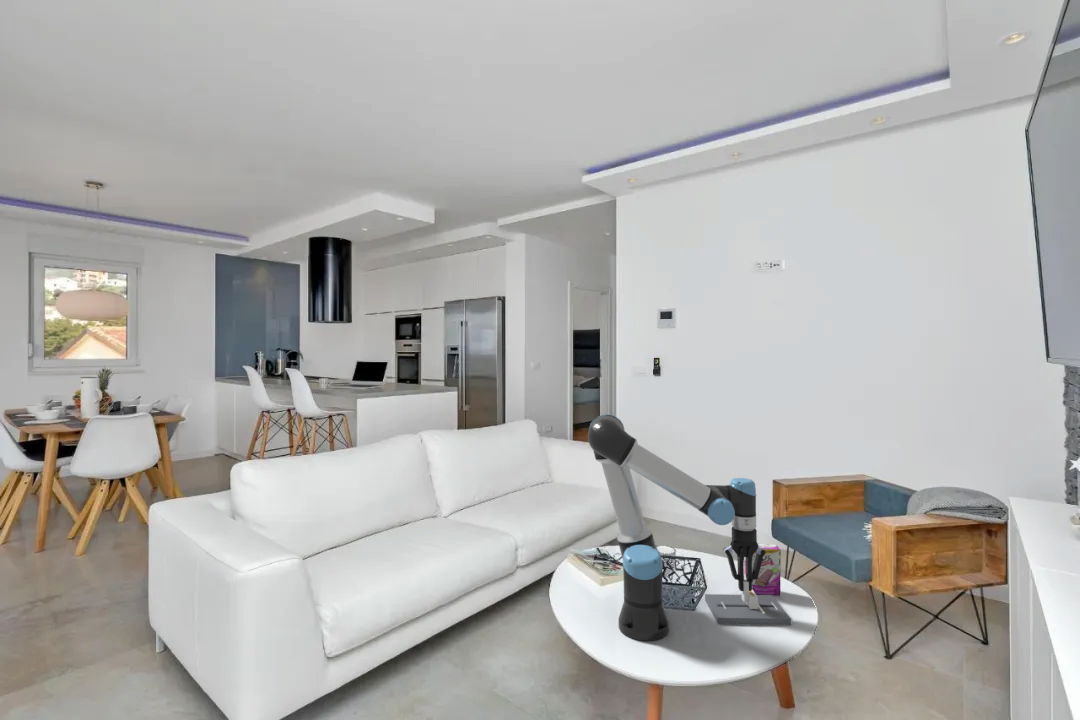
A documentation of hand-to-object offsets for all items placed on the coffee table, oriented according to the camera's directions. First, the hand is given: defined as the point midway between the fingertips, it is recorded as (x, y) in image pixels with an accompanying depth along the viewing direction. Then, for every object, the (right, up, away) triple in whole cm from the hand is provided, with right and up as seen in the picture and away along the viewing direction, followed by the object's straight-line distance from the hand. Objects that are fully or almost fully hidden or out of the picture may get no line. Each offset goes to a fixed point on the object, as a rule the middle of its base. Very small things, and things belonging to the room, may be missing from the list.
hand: (745, 600), depth 171 cm
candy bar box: (+11, -4, +13) cm, 18 cm away
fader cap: (+2, -2, 0) cm, 2 cm away
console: (0, -4, 0) cm, 4 cm away
